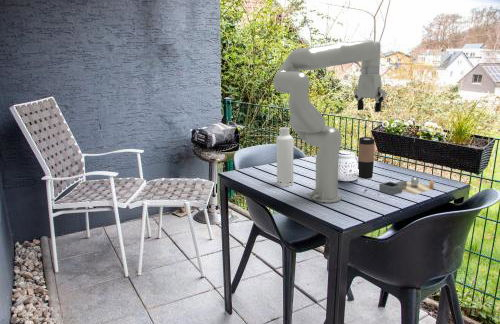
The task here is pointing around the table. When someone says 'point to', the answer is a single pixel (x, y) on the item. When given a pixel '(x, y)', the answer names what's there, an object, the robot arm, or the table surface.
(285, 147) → the bottle
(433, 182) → the dowel
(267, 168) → the table surface
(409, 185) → the board
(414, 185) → the post
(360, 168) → the travel mug
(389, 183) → the flange
